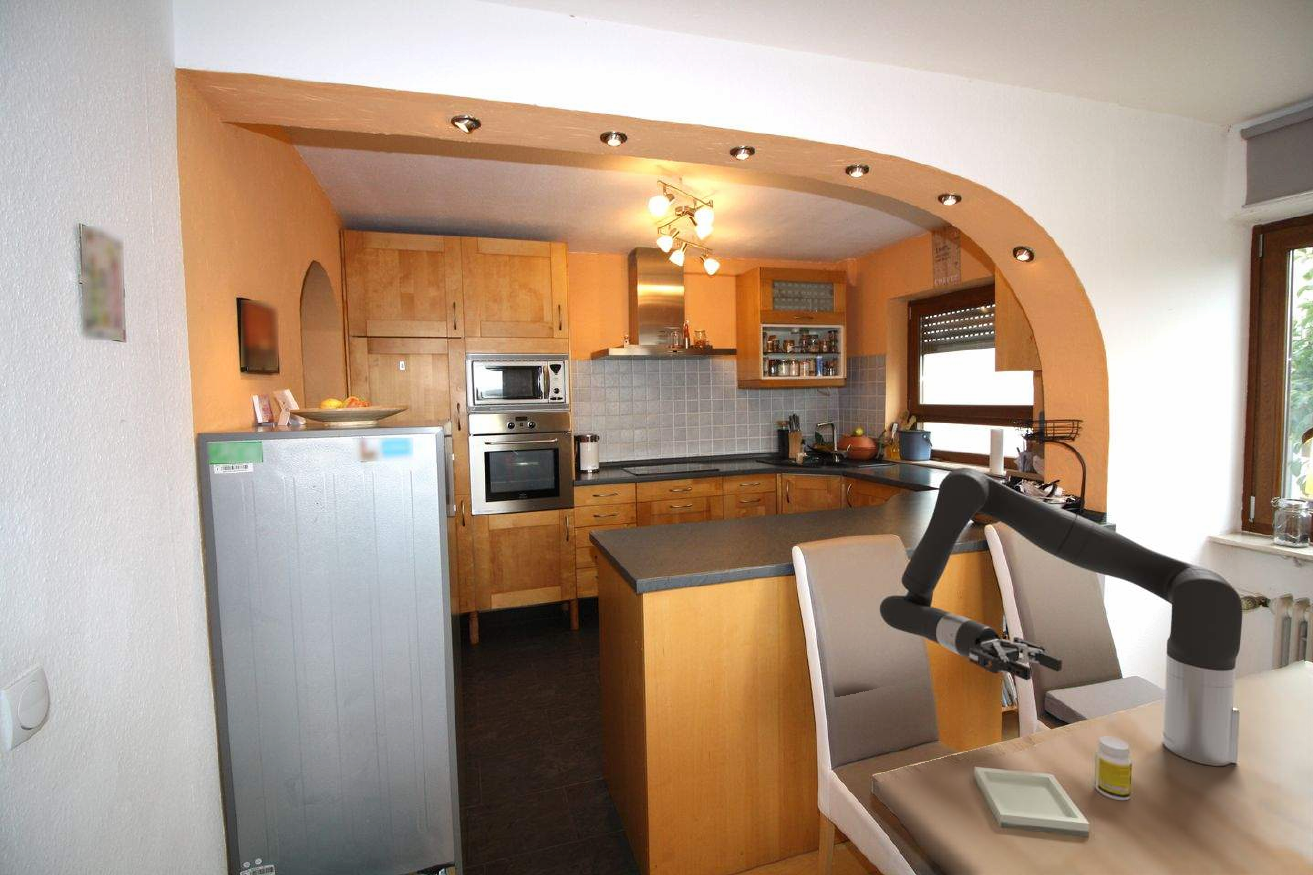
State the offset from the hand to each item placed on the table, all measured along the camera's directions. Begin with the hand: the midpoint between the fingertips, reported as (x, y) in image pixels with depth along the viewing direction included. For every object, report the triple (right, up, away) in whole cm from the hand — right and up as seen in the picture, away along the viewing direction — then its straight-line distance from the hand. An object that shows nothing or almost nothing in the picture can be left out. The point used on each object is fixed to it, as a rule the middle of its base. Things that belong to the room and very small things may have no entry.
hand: (1045, 670), depth 108 cm
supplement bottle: (+5, -17, -9) cm, 20 cm away
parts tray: (-11, -17, -12) cm, 24 cm away
